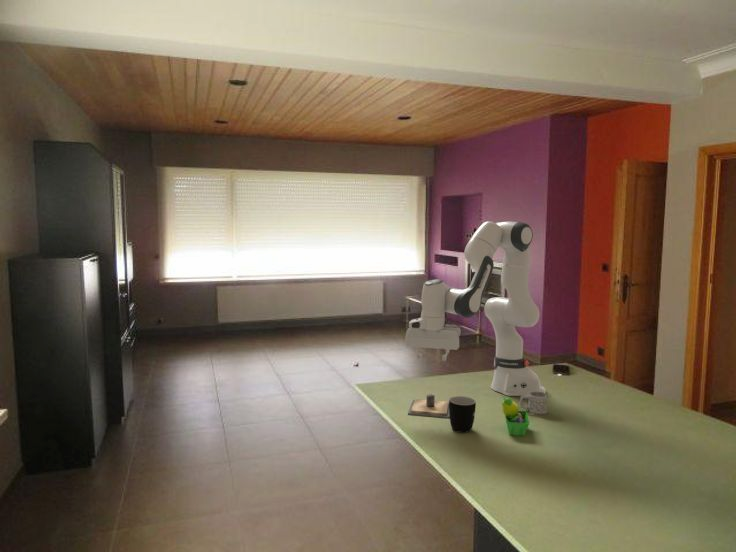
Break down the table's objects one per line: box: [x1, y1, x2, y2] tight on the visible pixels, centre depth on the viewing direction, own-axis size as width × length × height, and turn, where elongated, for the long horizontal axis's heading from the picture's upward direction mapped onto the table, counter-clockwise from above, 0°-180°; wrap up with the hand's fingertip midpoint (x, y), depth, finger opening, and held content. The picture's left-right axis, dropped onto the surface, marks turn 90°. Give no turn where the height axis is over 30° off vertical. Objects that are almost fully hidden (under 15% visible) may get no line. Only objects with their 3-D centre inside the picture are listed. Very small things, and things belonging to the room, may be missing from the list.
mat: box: [407, 399, 450, 419], centre depth 198 cm, size 15×15×1 cm
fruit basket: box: [501, 397, 530, 437], centre depth 179 cm, size 11×9×11 cm
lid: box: [411, 394, 449, 416], centre depth 198 cm, size 13×13×5 cm
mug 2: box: [519, 392, 548, 415], centre depth 198 cm, size 10×7×7 cm, turn 84°
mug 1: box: [448, 395, 477, 433], centre depth 181 cm, size 12×9×10 cm
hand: (431, 359), depth 197 cm, fingers open, 8 cm apart
